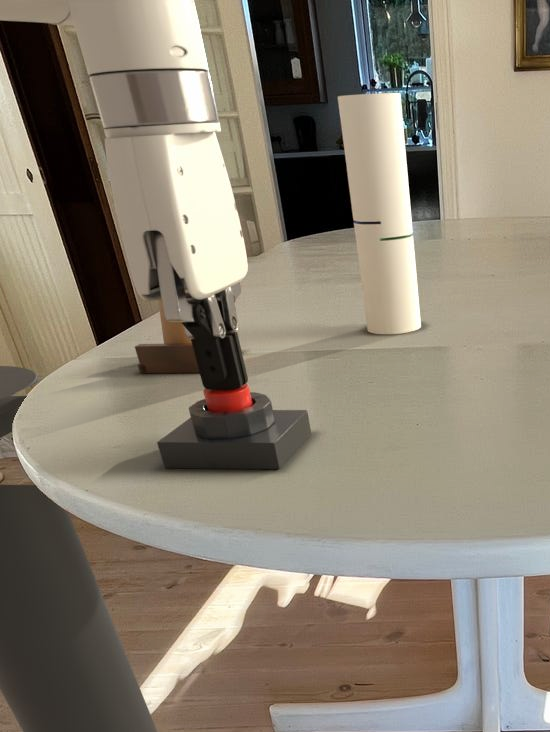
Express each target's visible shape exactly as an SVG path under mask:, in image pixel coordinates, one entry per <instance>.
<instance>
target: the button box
mask: <svg viewBox="0 0 550 732" xmlns="http://www.w3.org/2000/svg"><path fill="white" fill-rule="evenodd" d="M250 395H251V399H252V403H253V405H252V406H251V407H248V408H245V409H242V410H239V411H232V412H226V413H213V412H209V411H208V408H207V404H206V400H205V398H203V399H200V400H197V401H196V402H195V403H193V404H192V405H190V406H189V407H188V411H189V418H188V419H186V420H185V421H184V422H182V423H181V424H179V425H178V426H176V428H174V429H173V430H172V431H170V432H169V433H168V434H166V435H165V436H163V437H162V438H161V439H159V440H158V441H157V442H156V444H157V447H158V450H159V453H160V457H161V460H162V464H163V467H164V468H165V469H216V470H217V469H221V470H223V469H227V470H229V469H230V470H237V469H238V470H281V469H282V467H284V465H285V464H286V463H287V462H288V461H289V460H290V459H291V458H292V457H293V455H295V453H296V452H297V451H298V450H299V449H300V447H302V445H304V443H306V441H307V440H308V439H309V438H310V437H311V436H312V429H311V423H310V418H309V417H310V416H309V413H308V410H307V409H273V404H272V400H271V399H270V397H269V395H267V394H265V393H261V392H260V393H259V392H256V391H250Z"/></svg>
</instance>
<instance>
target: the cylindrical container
mask: <svg viewBox="0 0 550 732" xmlns="http://www.w3.org/2000/svg"><path fill="white" fill-rule="evenodd" d="M337 103H338V110H339V118H340V127H341V135H342V143H343V149H344V157H345V163H346V164H345V165H346V173H347V182H348V190H349V197H350V204H351V213H352V219H353V228H354V235H355V243H356V250H357V251H356V252H357V259H358V266H359V274H360V282H361V289H362V290H361V291H362V296H363V297H362V298H363V305H364V306H363V307H364V313H365V320H366V321H365V322H366V327H367V328H366V330H367V332H369V333H371V334H375V335H400V334H406V333H411V332H414V331H417V330H420V328H422V321H421V311H420V300H419V299H420V298H419V288H418V287H419V286H418V277H417V276H418V275H417V265H416V264H417V263H416V253H415V243H414V242H415V241H414V234H413V219H412V209H411V198H410V197H411V196H410V187H409V184H410V183H409V175H408V174H409V173H408V164H407V162H408V161H407V152H406V140H405V130H404V129H405V128H404V120H403V119H404V118H403V117H404V116H403V106H402V97H401V92H385V93H384V92H380V93H379V92H378V93H361V94H348V95H347V94H346V95H338V96H337Z"/></svg>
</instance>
